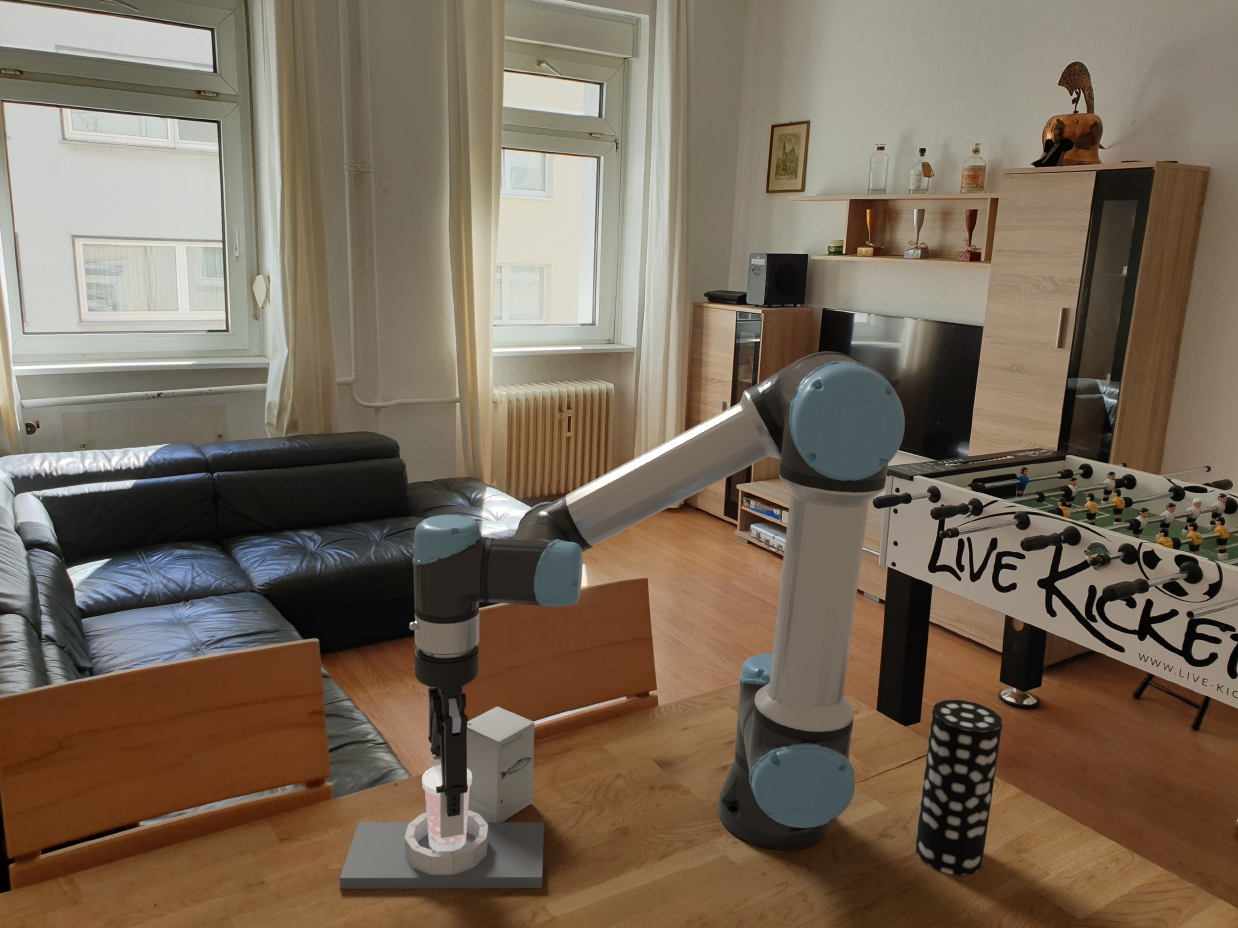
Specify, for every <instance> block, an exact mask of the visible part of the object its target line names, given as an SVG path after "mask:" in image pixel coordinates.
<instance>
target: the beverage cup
mask: <svg viewBox="0 0 1238 928" xmlns="http://www.w3.org/2000/svg"><path fill="white" fill-rule="evenodd" d="M421 783H422V789H423V790H424V797H425V808H426V810H425V811H426V812H427V824H428V837H429V846H430V847H431V848H432V850H435V851H454V850H457V849H460V848H462V847H463V846H464V844H465V842H466V833H467V818H468V804H469V790H470V786H471V784H472V773H471V771H470V770H469V769H468V768H467V785H468V789H467V793H464V834H463V835H457V836H452V837H446V838H441V836H440V793H437V792H436V787H438V786H441V785H442V770H441V765H437V766H434V767H432V766H431V767H430V768H429V769H426V770H425V772H424V773H423V774H422V777H421ZM426 812H425V813H426Z"/></svg>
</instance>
